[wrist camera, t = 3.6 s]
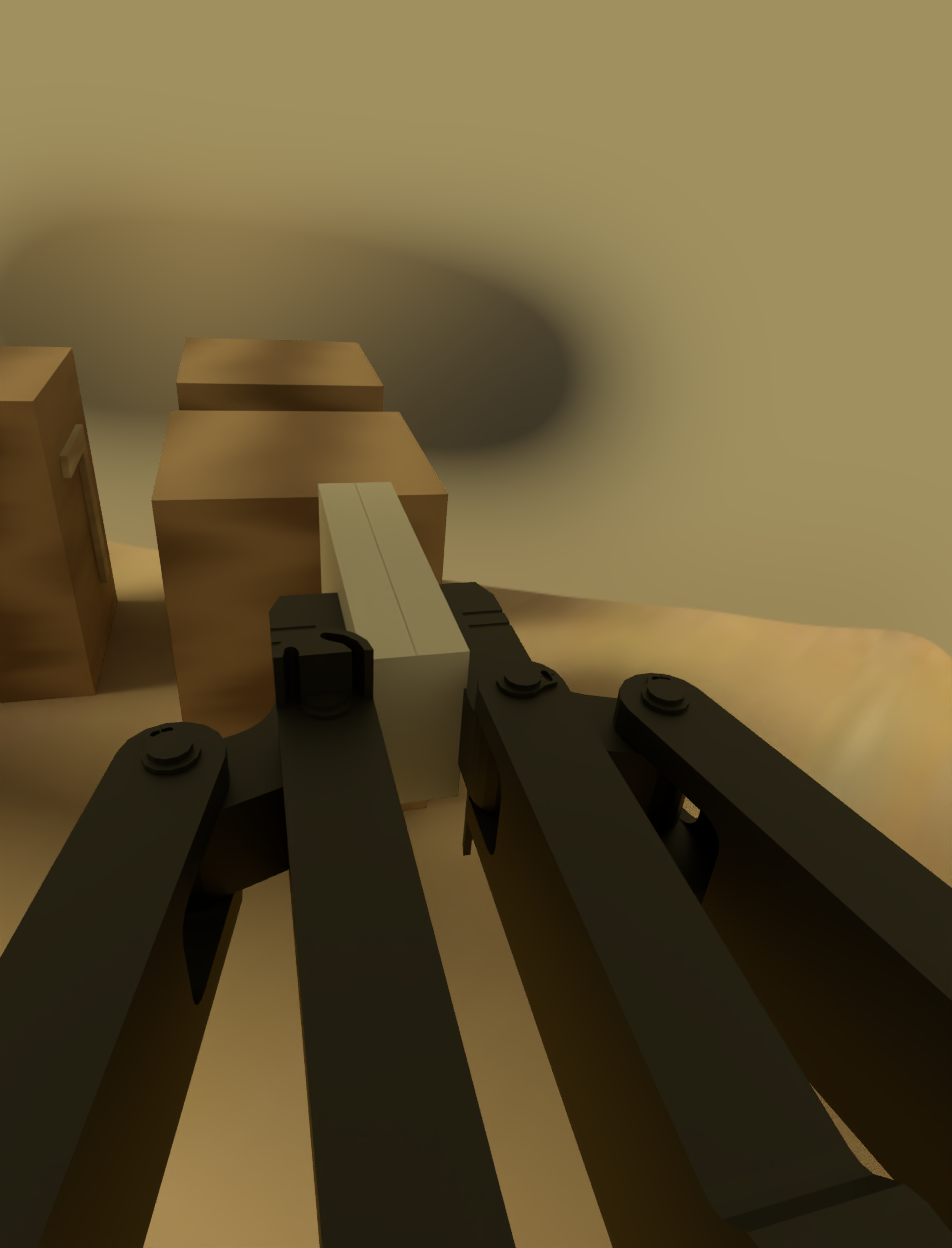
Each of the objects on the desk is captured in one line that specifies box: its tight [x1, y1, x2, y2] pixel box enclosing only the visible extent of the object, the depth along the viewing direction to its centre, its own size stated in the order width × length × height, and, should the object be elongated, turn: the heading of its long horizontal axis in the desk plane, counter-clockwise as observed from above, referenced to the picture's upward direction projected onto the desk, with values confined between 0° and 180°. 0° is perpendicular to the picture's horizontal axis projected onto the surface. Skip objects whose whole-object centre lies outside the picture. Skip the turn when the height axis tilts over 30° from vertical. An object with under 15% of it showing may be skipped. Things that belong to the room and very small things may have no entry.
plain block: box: [152, 410, 448, 811], centre depth 31 cm, size 9×9×14 cm
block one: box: [176, 337, 384, 412], centre depth 42 cm, size 9×9×14 cm
